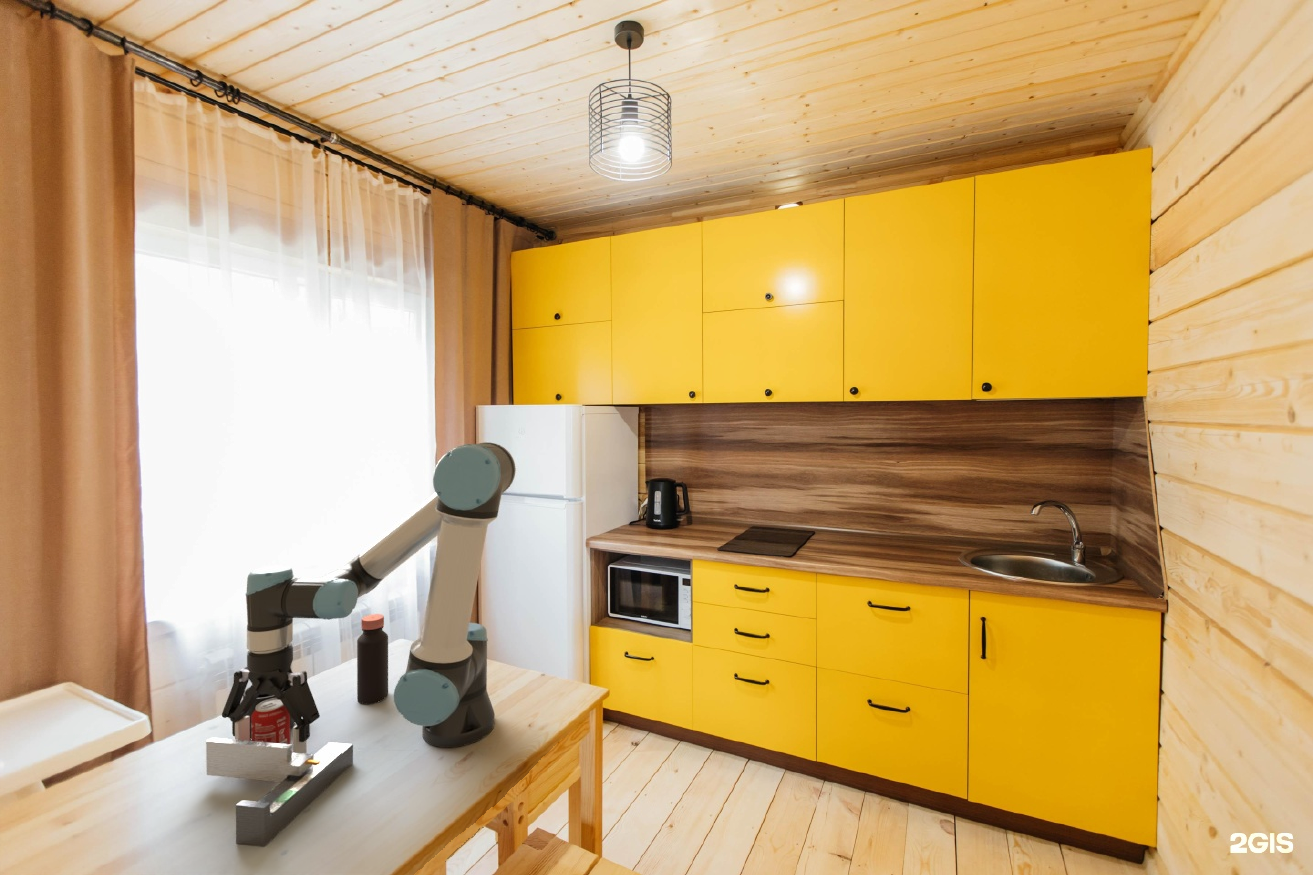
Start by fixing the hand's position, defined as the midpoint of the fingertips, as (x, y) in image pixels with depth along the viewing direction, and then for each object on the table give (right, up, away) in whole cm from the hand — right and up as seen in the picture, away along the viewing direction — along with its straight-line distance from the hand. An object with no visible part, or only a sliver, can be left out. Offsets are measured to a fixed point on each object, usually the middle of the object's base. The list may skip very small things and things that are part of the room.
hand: (271, 753), depth 112 cm
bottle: (+7, -1, +26) cm, 27 cm away
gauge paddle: (+4, 0, -8) cm, 9 cm away
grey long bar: (+12, -2, -10) cm, 16 cm away
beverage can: (0, -2, 0) cm, 2 cm away
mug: (-8, -2, +13) cm, 15 cm away
